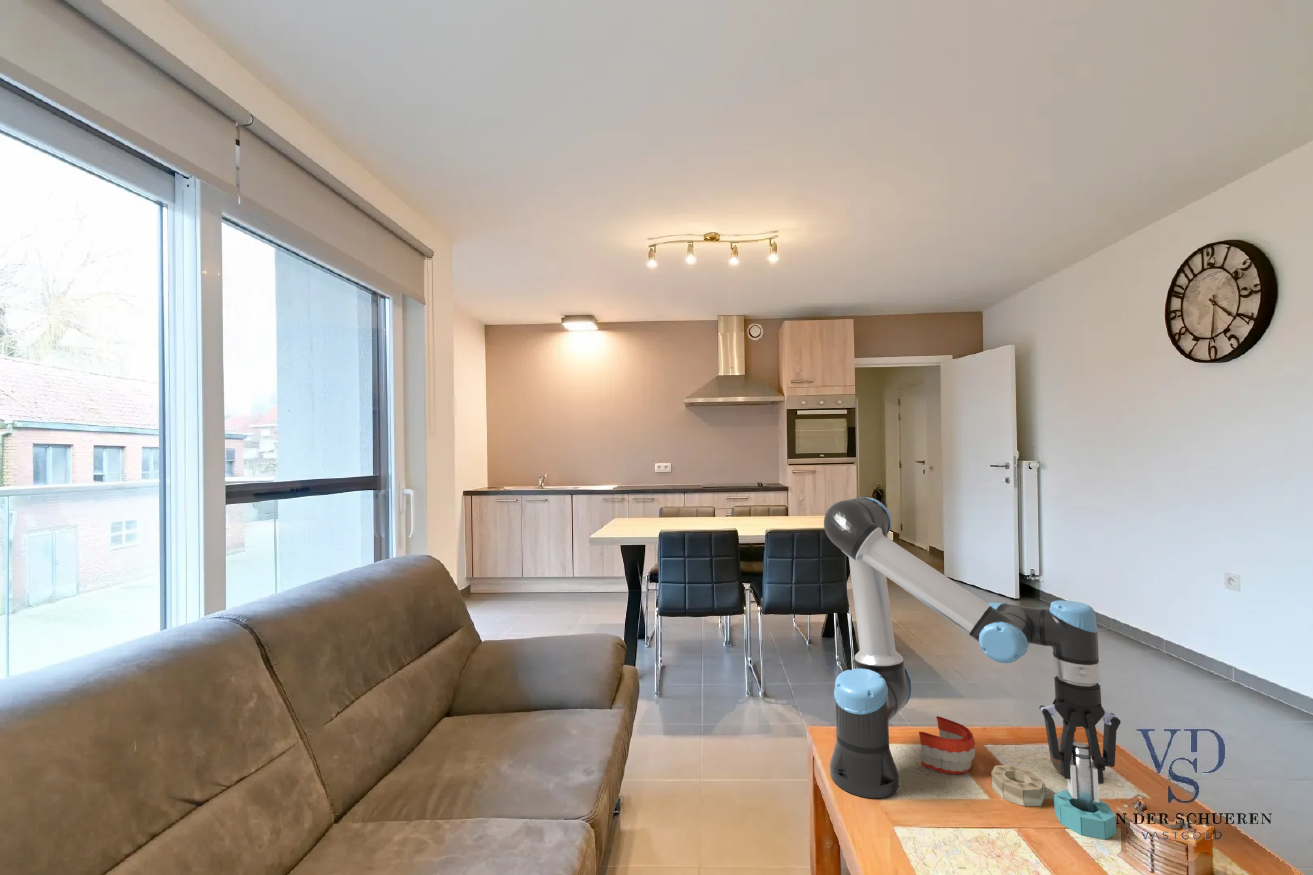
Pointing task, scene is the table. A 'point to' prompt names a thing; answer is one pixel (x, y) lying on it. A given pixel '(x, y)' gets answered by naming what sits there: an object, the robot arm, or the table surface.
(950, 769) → the toy
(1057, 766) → the vase
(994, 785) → the bead birch
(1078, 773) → the capped vial
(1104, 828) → the bead teal
